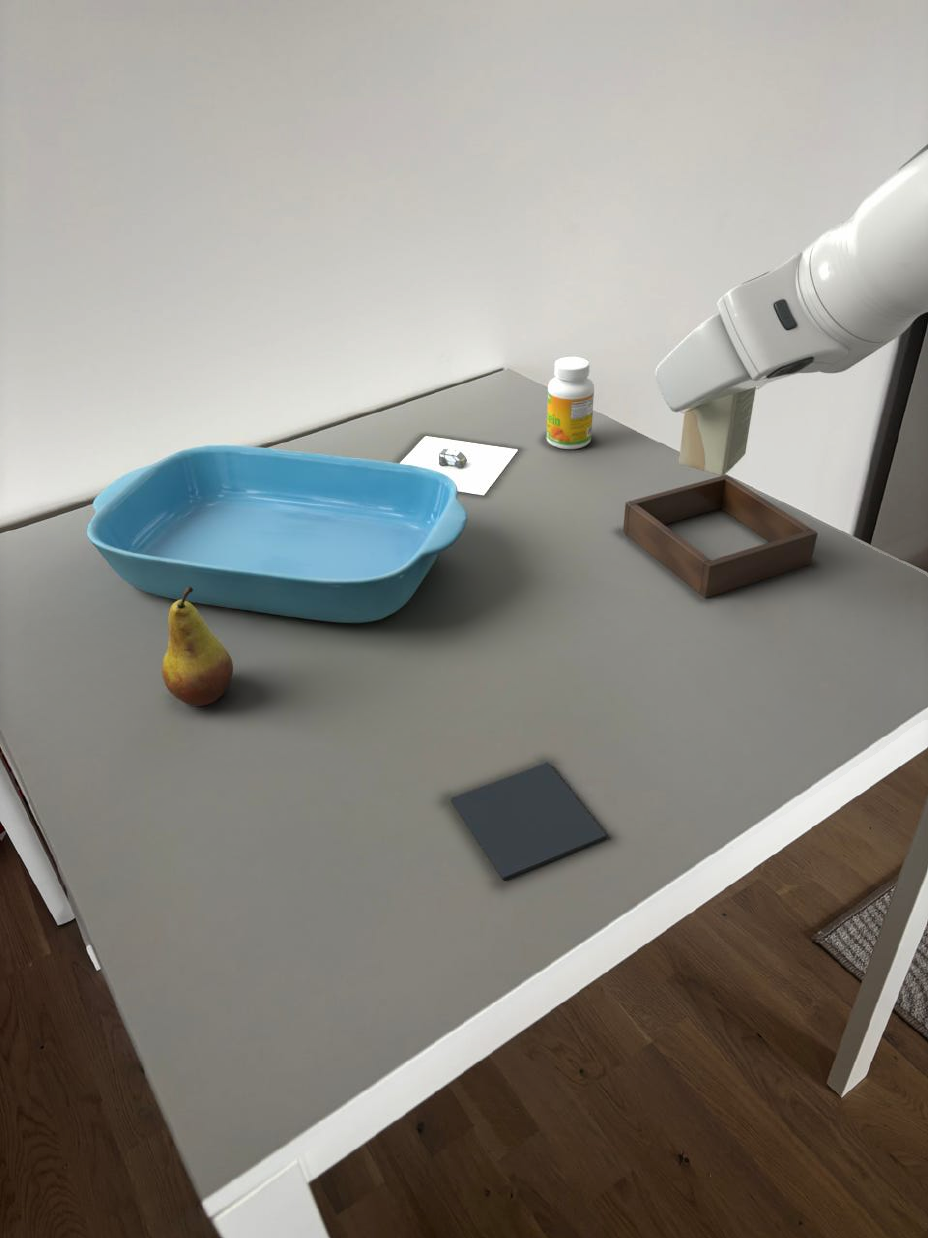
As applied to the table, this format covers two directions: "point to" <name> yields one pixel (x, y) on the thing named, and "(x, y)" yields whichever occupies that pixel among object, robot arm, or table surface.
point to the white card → (461, 462)
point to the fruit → (194, 657)
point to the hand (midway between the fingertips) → (714, 393)
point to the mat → (527, 820)
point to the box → (717, 433)
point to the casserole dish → (278, 530)
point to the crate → (713, 577)
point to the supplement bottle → (570, 404)
